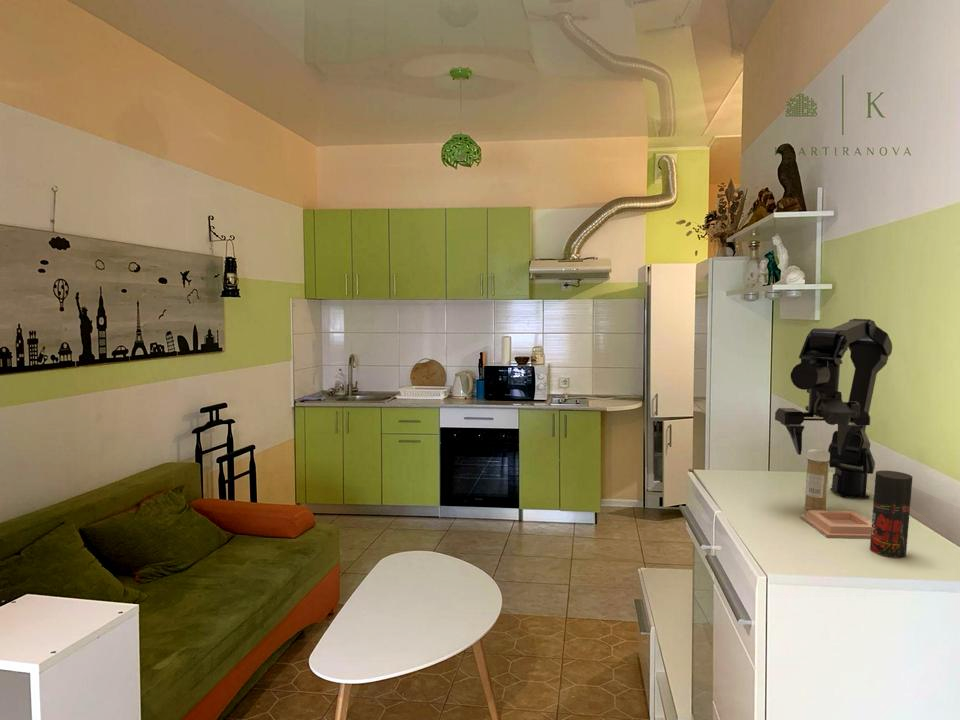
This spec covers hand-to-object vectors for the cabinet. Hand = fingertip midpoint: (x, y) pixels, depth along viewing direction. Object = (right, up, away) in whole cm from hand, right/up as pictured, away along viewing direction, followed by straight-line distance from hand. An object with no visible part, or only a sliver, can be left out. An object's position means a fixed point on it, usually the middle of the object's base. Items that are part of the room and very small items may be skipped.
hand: (819, 454), depth 154 cm
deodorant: (+1, -16, -23) cm, 28 cm away
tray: (0, -14, -10) cm, 17 cm away
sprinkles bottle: (0, -13, +2) cm, 13 cm away
